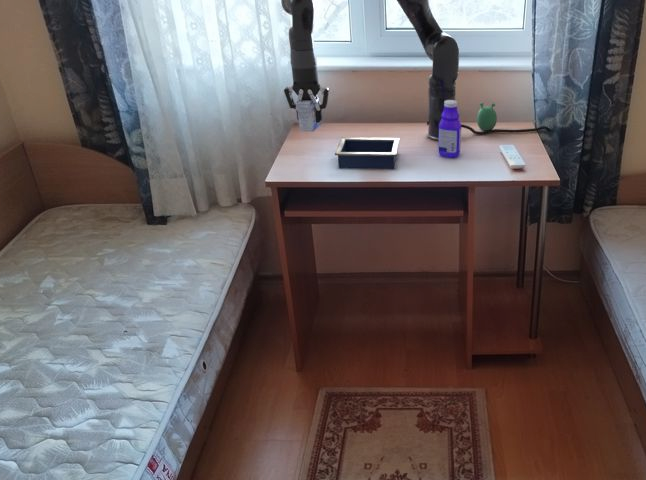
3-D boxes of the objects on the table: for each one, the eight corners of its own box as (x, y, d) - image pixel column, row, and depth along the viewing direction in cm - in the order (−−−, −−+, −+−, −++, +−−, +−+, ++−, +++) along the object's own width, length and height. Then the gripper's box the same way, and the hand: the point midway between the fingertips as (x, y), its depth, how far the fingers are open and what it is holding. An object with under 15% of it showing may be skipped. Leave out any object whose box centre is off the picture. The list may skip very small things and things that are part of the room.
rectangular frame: (399, 153, 221) (399, 138, 218) (396, 170, 209) (395, 154, 206) (342, 152, 221) (341, 137, 218) (336, 169, 209) (334, 153, 206)
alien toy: (495, 127, 243) (496, 99, 237) (496, 134, 237) (498, 105, 231) (475, 127, 243) (476, 99, 237) (477, 134, 237) (478, 105, 231)
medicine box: (313, 132, 207) (310, 103, 201) (299, 131, 207) (296, 102, 202) (321, 124, 213) (318, 96, 208) (308, 123, 214) (305, 95, 208)
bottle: (462, 154, 220) (464, 100, 210) (457, 159, 216) (458, 105, 206) (441, 151, 222) (442, 97, 212) (436, 157, 218) (436, 102, 208)
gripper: (329, 61, 202) (334, 118, 212) (282, 61, 202) (289, 118, 212) (325, 67, 196) (331, 126, 206) (277, 67, 196) (284, 125, 206)
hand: (310, 121), depth 209 cm, fingers closed on medicine box, 5 cm apart
